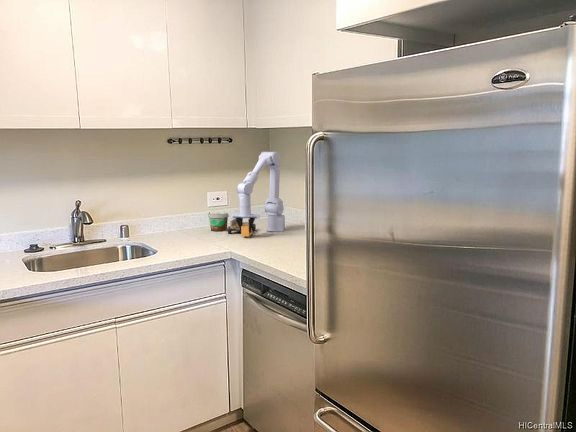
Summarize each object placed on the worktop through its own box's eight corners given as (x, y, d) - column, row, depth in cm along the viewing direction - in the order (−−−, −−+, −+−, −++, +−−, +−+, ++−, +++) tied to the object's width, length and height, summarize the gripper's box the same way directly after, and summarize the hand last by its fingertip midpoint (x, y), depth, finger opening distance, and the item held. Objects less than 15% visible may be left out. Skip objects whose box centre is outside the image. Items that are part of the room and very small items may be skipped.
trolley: (255, 230, 260) (255, 217, 259) (250, 234, 247) (249, 222, 246) (234, 229, 262) (233, 217, 261) (227, 234, 249) (227, 221, 248)
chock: (252, 233, 246) (252, 223, 246) (248, 236, 239) (248, 226, 238) (245, 233, 247) (245, 223, 246) (241, 236, 239) (241, 226, 238)
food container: (204, 231, 258) (203, 213, 256) (209, 229, 264) (208, 212, 262) (224, 232, 254) (224, 214, 253) (229, 230, 260) (228, 212, 258)
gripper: (229, 207, 235) (230, 233, 238) (257, 207, 233) (257, 233, 235) (233, 205, 242) (234, 230, 244) (260, 205, 240) (260, 231, 242)
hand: (245, 231), depth 240 cm, fingers closed on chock, 4 cm apart
